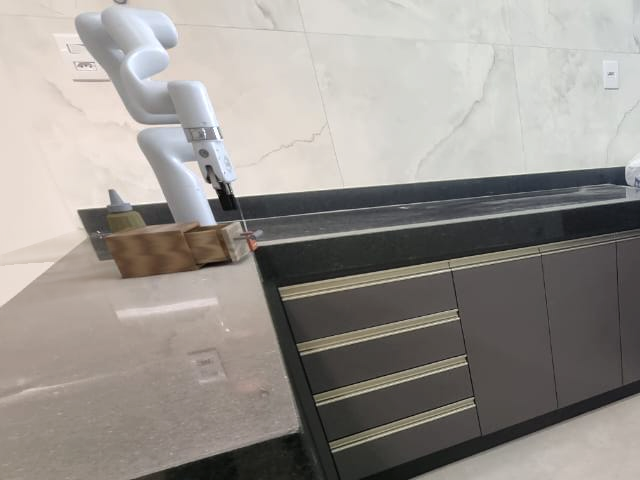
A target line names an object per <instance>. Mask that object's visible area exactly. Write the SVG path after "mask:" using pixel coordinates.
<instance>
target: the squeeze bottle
mask: <svg viewBox="0 0 640 480" xmlns="http://www.w3.org/2000/svg"><path fill="white" fill-rule="evenodd" d="M107 191H108V192H107V193H108V196H109V202H110V204H107V205H106V209H107V211H108V214H107V215H106V216H105V217H106V220H107V223H108V227H109V230H110V232H111V234H114V233H116V232H119V231H121V230H124V229H127V228H131V227H142V226H147V224H146V222H145V221H144V219H143V217H142V215H141V213H140V212H138V211H136V210H133V207H132V205H131V203H130V202H124V200H123V199H122V198H121V196H120V195H119V194H118V191H116V190H115V188H110V189H108V190H107Z"/></svg>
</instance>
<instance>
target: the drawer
mask: <svg viewBox="0 0 640 480" xmlns="http://www.w3.org/2000/svg"><path fill="white" fill-rule="evenodd" d="M244 232H245V231H244V230H243V228H242V224H241V222H240V221H233V222H231V223H230V224H228V223H222V224H217V225H209V226H198V227H194V228H192V229H190V230H188V231H186V232H184V233H183V234H184V236H185V239H186V241H187V244H188V246H189V249H190V251H191V253H192V256H193V258H194V261H195V263H196V264H199V263H206V264H208V263H216V262H224V261H225V262H226V261H228V260H229V259H231V262H238V261H240V260H242V258H243V257H245V256H246V255H247V254H248V253H250V252H251V251H250V249H249V246H248V243H247V241H246V239H251V240H255V241H256V240H257V239H259V238H261V236H263V235H264V231H263V230H261V229H257V230H256V231H252V232H249V233H244ZM246 235H250V236H247V237H245V236H246Z"/></svg>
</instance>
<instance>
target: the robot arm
mask: <svg viewBox="0 0 640 480" xmlns="http://www.w3.org/2000/svg"><path fill="white" fill-rule="evenodd" d="M74 27H75V30H76V33H77V36H78V37H79V39H80V41H81V43H82V44H83V46H84V48H85V49H86V51H87V52H88V53H89V55H90V56H91V57H92V58H93V59H94V60H95V61H96V62H97V64H98V65H99V66H100V67H101V68H102V69H103V70H104V72H105V73H106V75H107V76H108V77H109V79H110V81H111V83H112V84H113V87H114V89H115V90H116V92H117V94H118V96H119V97H120V100H121V101H122V103H123V105H124V107H125V110H126V111H127V112H128V114H129V116H130V117H131V118H132V119H133V121H135V122H136V123H138V124H140V125H146V126H157V127H148V128H144V129H142V130H140V131H139V132H138V133H137V135H136V142H137V144H138V147H139V150H140V151H141V152H142V154H143V156H144V157H145V159H146V161H147V162H148V164H149V165H150V168H151V170H152V171H153V173H154V175H155V177H156V180H157V182H158V184H159V187H160V189H161V191H162V195H163V196H164V198H165V202H166V203H167V205H168V208H169V210H170V213H171V215H172V218H173V220H174V222H175V223H185V222H196V221H199V222H200V225H201V226H209V225H218V222H216V219H215V216H214V214H213V211H212V208H211V206H210V203H209V200H208V199H207V196H206V193H205V190H204V188H203V185H202V183H201V179H200V178H199V176H198V175H197V174H196V173H195V172H194V171H192V170H191V169H189V168H188V167H187V166H185V165H184V164H183V163H188V162H197V165H198V168H199V170H200V173H201V175H202V178H203V180H204V182H205V183H206V184H209V185H211V186H212V189H213V190H214V191H215V193H216V195H217V198H218V201H219V204H220V206H221V209H222V211H223V212H229V211H231V212H232V211H237V210H239V204H238V202H237V200H236V199H237V198H236V196H235V193H234V190H233V187H232V182H234V181H235V182H236V180H237V179H238V175H237V171H236V170H235V168H234V164H233V163H232V160H231V158H230V155H229V152H228V151H227V148H226V146H225V144H224V143H223V142H224V141H225V139H224V135H223V133H222V130H221V127H220V124H219V121H218V119H217V116H216V113H215V110H214V107H213V105H212V101H211V99H210V95H209V93H208V91H207V88H206V86H205V84H204V83H203V82H201V81H199V80H193V79H191V80H190V79H186V80H185V79H178V80H152V79H151V78H150V77H153V76H156V75H157V74H160V73H162V72H163V71H165V70H166V69H167V68H168V67H169V64H170V55H169V53H168V52H167V50H170V49H173V48H175V47H176V46H177V45H178V44H179V34H178V30H177V28H176V26H175V24H174V23H173V21H172V19H170V18H169V16H168V15H167V14H165V13H164V12H162V11H160V10H158V9H155V8H154V9H153V8H143V7H132V6H120V5H119V6H117V5H115V6H114V5H113V6H109V7H106V8H105V9H103V10H102V12H100V11H99V12H96V11H93V12H92V11H91V12H83V13H79V14H77V15H76V16H75V18H74ZM163 125H166V126H163ZM167 125H180V126H167Z"/></svg>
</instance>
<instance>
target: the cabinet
mask: <svg viewBox="0 0 640 480" xmlns="http://www.w3.org/2000/svg"><path fill="white" fill-rule="evenodd" d="M198 226H201V225H200V222H199V221H196V222H185V223H164V224H154V225H146V226H142V227H131V228H127V229H124V230H121V231H119V232H116V233H114V234H112V233H110V234H108V235H105V236H103V237H102V238H103V241H104V242H105V244H106V246H107V249H108V250H109V252H110V255H111V257H112V259H113V261H114V263H115V266H116V267H117V269H118V271H119V274H120V276H121V278H122V279H131V278H139V277H147V276H157V275H165V274H173V273H181V272H191V271H197V270H199V269H201V268H202V267H203V266H205V265H206V264H207V263H199V264H196V263H195V261H194V258H193V256H192V253H191V251H190V249H189V246H188V244H187V241H186V239H185V236H184V234H183V233H184V232H186V231H188V230H190V229H192V228H194V227H198Z"/></svg>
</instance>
